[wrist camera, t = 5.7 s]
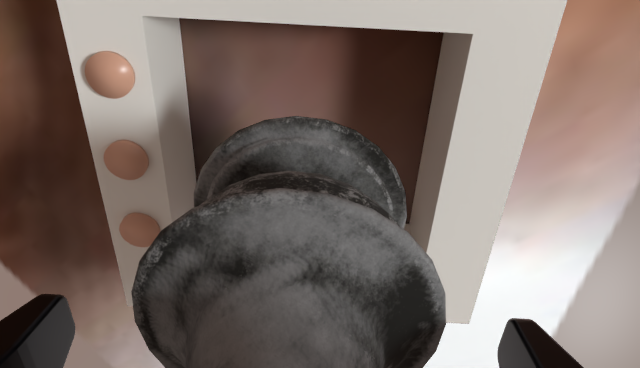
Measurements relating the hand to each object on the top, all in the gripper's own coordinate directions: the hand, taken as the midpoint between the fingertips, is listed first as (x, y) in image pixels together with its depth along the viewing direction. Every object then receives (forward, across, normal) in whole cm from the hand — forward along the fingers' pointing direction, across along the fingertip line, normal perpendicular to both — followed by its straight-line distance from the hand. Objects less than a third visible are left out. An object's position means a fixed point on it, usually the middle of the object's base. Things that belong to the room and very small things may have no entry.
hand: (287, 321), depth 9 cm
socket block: (+9, 0, 0) cm, 9 cm away
